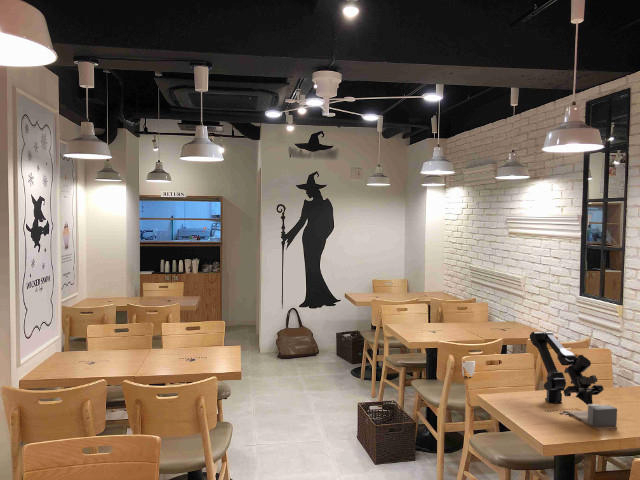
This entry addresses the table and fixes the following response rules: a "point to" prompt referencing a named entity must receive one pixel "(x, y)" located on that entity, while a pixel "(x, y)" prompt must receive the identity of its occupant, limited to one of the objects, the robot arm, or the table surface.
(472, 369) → the white cup
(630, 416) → the table surface
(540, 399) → the table surface
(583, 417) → the board
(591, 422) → the socket housing
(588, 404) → the plug
